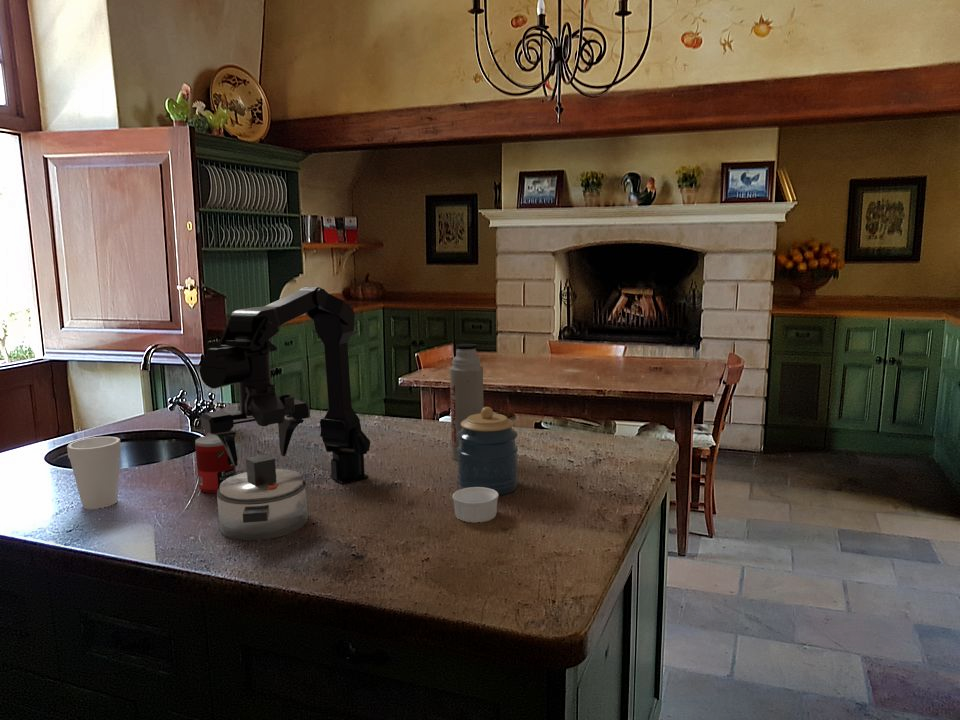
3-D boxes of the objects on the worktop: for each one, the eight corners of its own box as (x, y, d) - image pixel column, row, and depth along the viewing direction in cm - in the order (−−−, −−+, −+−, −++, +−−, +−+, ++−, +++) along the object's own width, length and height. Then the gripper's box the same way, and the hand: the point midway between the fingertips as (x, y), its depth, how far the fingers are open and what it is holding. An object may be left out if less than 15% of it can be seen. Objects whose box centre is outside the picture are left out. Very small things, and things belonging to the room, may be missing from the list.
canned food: (225, 494, 150) (221, 444, 148) (191, 492, 152) (187, 442, 150) (243, 482, 157) (240, 434, 156) (211, 481, 159) (207, 433, 157)
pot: (229, 505, 144) (227, 471, 143) (310, 498, 147) (308, 466, 146) (208, 551, 122) (205, 513, 121) (304, 543, 125) (302, 505, 124)
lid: (283, 469, 144) (282, 442, 143) (316, 488, 132) (315, 459, 131) (208, 486, 134) (206, 457, 134) (237, 508, 123) (234, 476, 122)
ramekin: (465, 528, 131) (464, 505, 130) (445, 512, 139) (445, 491, 138) (506, 519, 135) (506, 497, 134) (485, 504, 143) (485, 483, 142)
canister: (526, 481, 156) (526, 403, 153) (503, 501, 144) (503, 416, 141) (473, 474, 161) (472, 398, 158) (447, 492, 150) (445, 411, 147)
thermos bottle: (452, 462, 170) (450, 347, 166) (451, 452, 178) (448, 342, 173) (485, 461, 171) (484, 346, 166) (482, 451, 179) (481, 341, 174)
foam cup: (136, 498, 148) (130, 438, 146) (99, 514, 140) (93, 450, 138) (101, 493, 152) (95, 435, 149) (63, 509, 143) (56, 446, 141)
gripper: (218, 392, 118) (224, 482, 120) (321, 378, 129) (325, 460, 132) (197, 382, 127) (203, 466, 129) (295, 370, 138) (299, 447, 140)
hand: (259, 460), depth 132 cm, fingers open, 9 cm apart
